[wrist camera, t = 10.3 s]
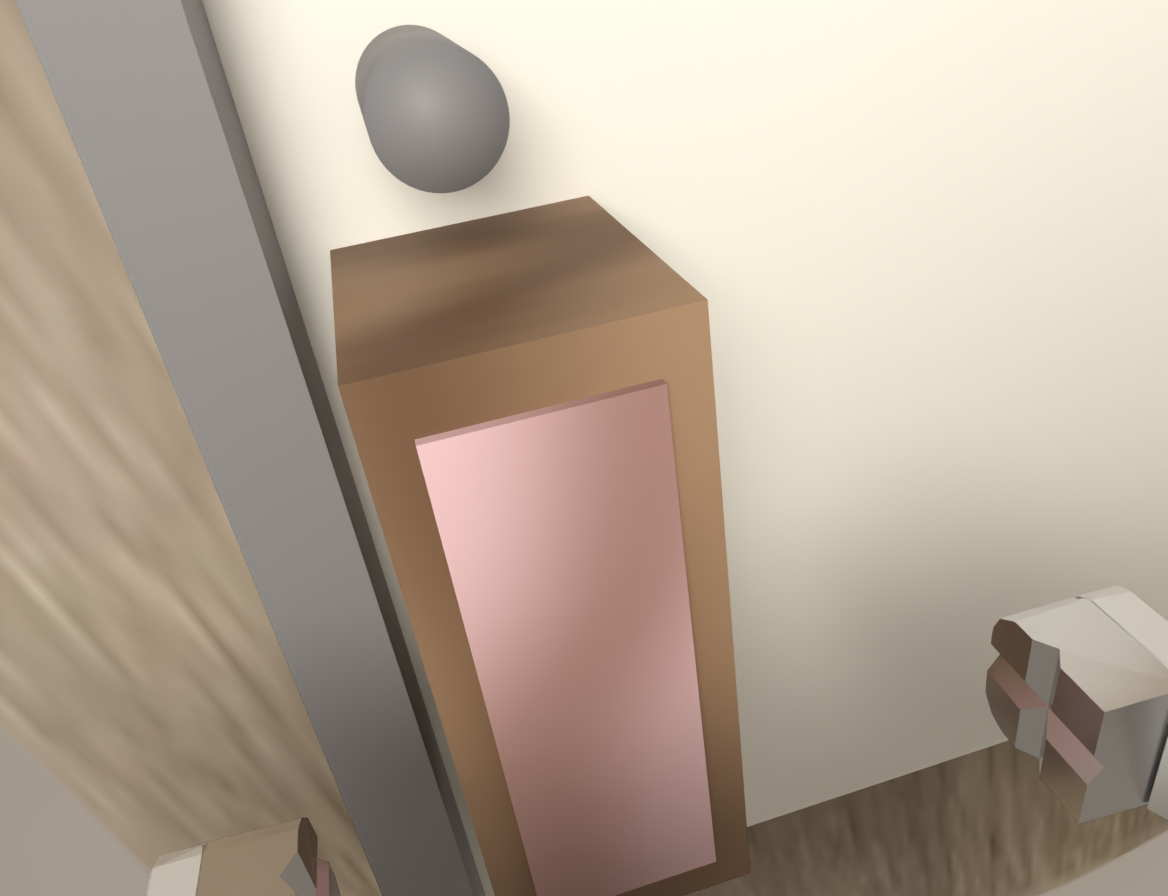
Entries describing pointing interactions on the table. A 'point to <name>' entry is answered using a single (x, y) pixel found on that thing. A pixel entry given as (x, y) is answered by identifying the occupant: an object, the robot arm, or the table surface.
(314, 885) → the robot arm
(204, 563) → the table surface
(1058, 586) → the board
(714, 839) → the wooden block
